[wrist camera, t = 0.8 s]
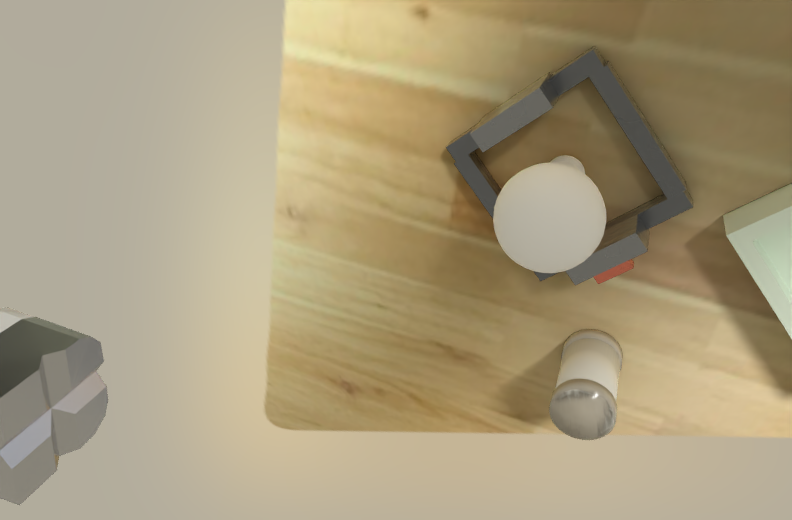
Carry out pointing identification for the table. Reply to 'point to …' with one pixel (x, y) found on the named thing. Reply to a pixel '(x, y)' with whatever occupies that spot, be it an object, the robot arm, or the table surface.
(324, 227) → the table surface
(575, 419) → the fuse
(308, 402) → the table surface
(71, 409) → the robot arm
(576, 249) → the lightbulb
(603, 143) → the table surface
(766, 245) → the tray
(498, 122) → the frame
